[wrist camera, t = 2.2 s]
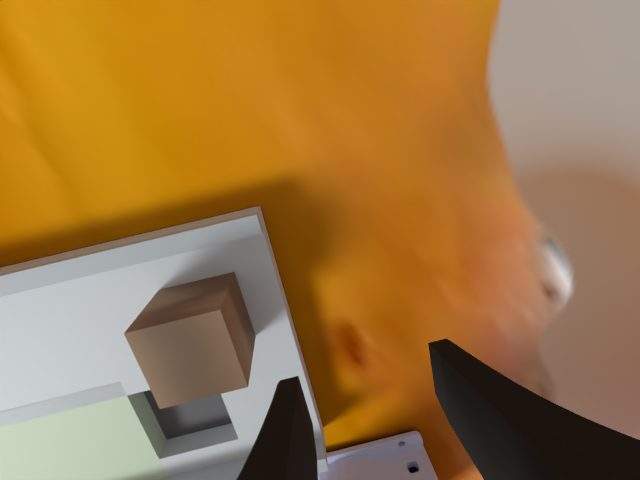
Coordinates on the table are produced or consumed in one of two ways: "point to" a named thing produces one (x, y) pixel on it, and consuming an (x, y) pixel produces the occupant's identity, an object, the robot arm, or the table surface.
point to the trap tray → (121, 365)
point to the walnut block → (194, 340)
